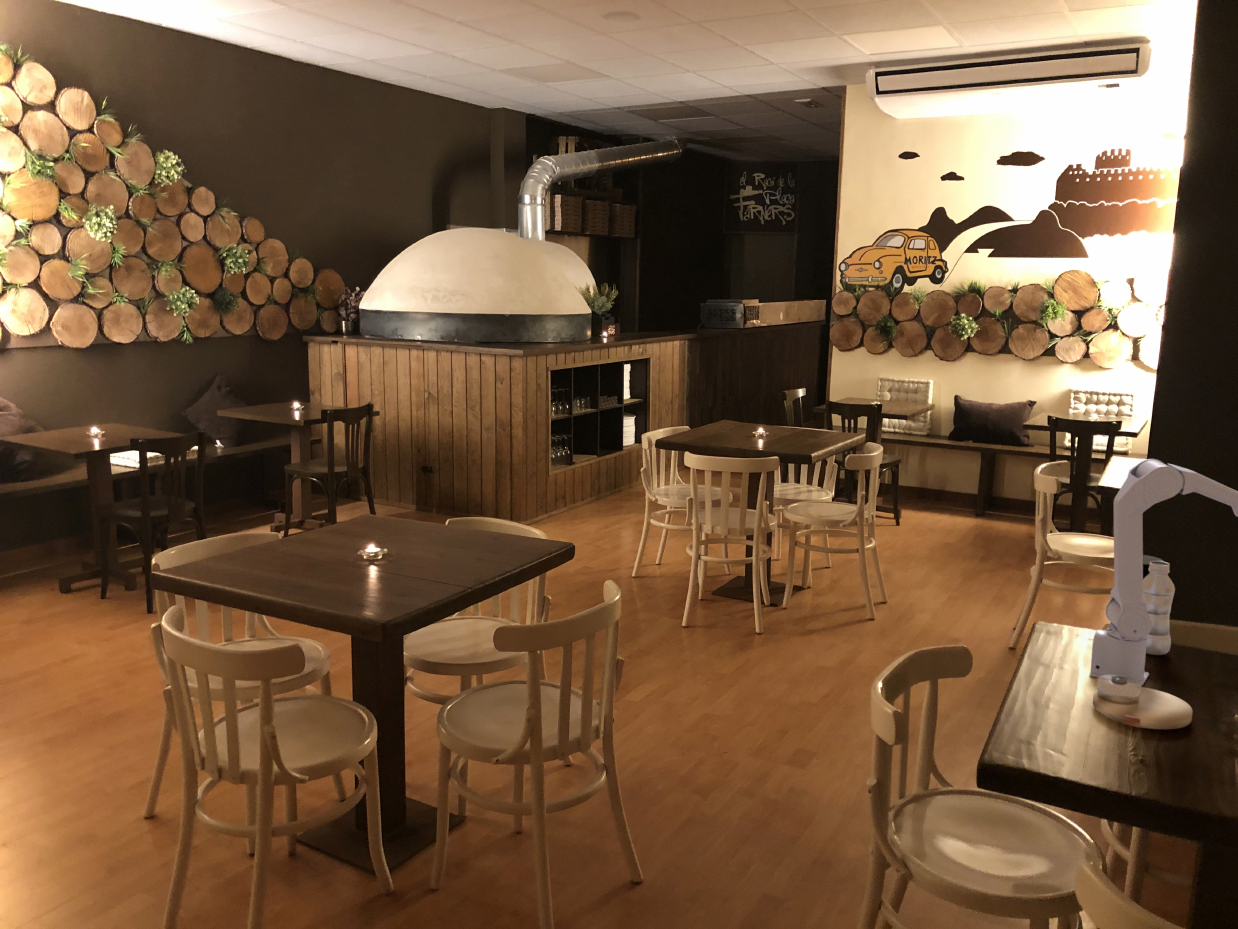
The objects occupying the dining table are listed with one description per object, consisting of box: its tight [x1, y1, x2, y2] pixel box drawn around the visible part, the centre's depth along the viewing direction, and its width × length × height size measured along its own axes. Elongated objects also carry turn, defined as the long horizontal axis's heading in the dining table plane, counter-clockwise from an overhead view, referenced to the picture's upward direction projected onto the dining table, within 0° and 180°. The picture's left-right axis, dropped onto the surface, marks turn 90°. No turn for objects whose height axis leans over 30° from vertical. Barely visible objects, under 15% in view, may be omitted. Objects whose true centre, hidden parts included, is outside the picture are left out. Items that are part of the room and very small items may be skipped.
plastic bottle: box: [1143, 561, 1176, 656], centre depth 207 cm, size 6×7×20 cm
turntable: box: [1092, 686, 1194, 730], centre depth 177 cm, size 16×16×2 cm
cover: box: [1096, 675, 1141, 705], centre depth 179 cm, size 7×7×4 cm
